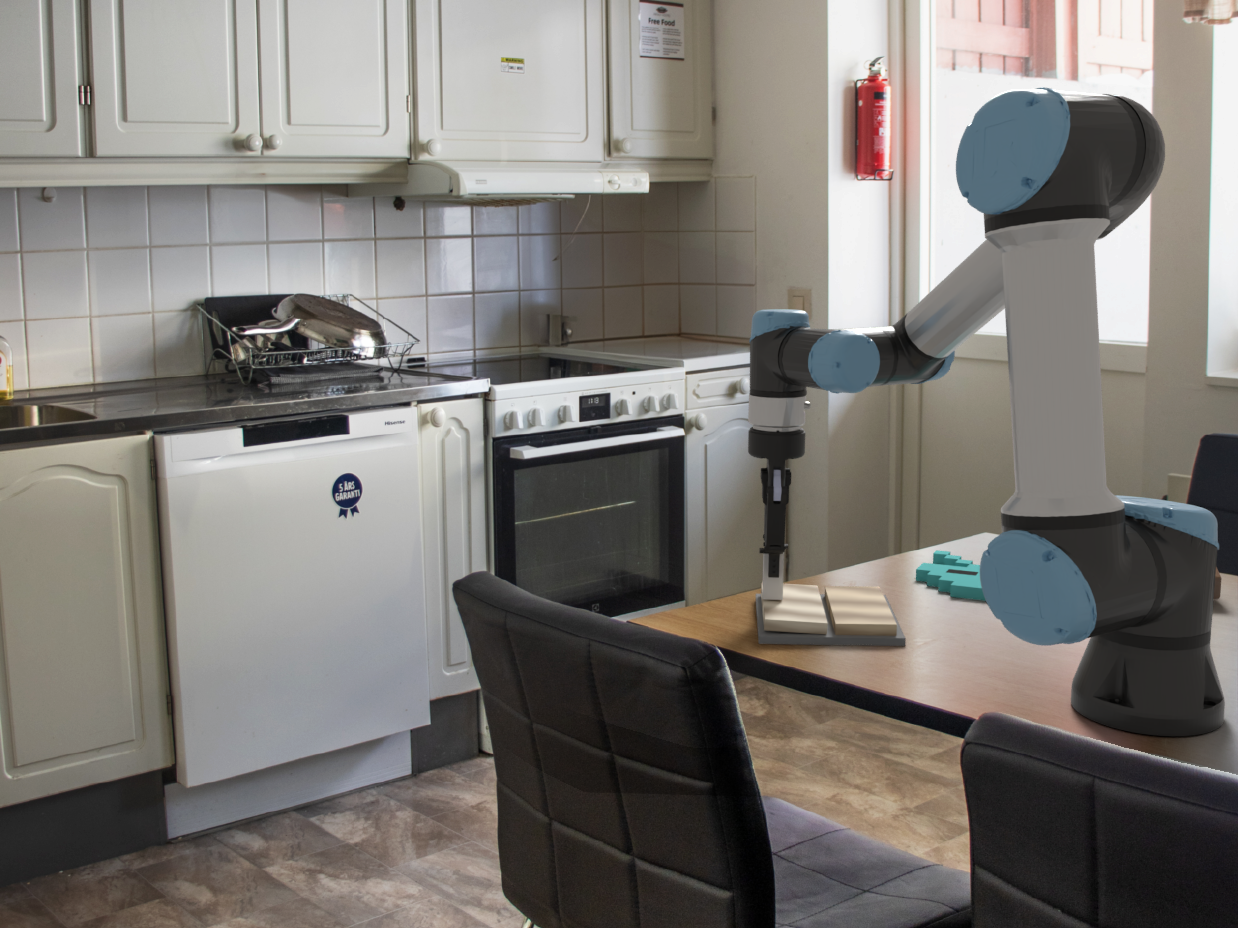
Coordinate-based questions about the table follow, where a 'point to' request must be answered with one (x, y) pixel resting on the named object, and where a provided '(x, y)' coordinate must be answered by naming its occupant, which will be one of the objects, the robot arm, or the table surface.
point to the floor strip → (859, 611)
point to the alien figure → (952, 576)
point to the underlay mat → (824, 639)
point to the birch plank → (795, 610)
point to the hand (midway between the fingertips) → (772, 597)
